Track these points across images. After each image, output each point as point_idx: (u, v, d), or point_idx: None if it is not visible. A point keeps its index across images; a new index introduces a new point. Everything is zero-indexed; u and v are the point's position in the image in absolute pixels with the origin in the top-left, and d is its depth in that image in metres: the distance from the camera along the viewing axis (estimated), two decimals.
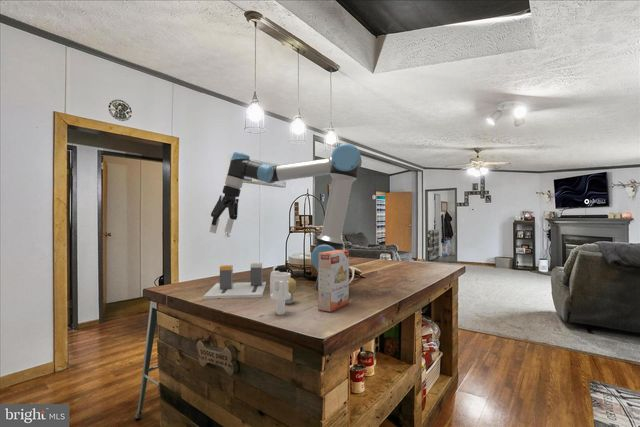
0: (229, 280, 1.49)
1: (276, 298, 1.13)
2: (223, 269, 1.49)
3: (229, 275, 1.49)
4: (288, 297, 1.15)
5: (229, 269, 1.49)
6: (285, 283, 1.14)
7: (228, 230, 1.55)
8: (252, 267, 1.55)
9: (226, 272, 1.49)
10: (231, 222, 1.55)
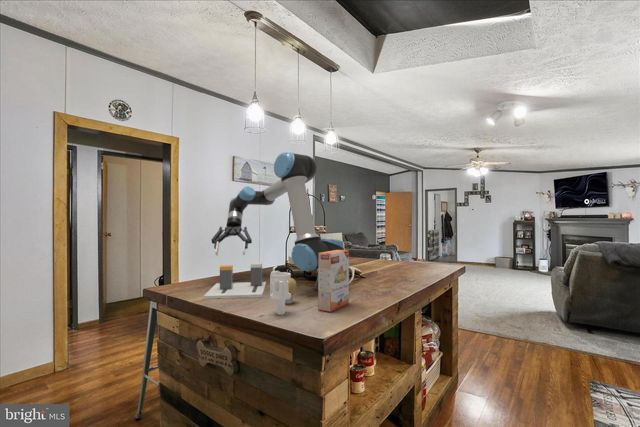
0: (229, 280, 1.49)
1: (276, 298, 1.13)
2: (223, 269, 1.49)
3: (229, 275, 1.49)
4: (288, 297, 1.15)
5: (229, 269, 1.49)
6: (285, 283, 1.14)
7: None
8: (252, 267, 1.55)
9: (226, 272, 1.49)
10: (243, 244, 1.65)
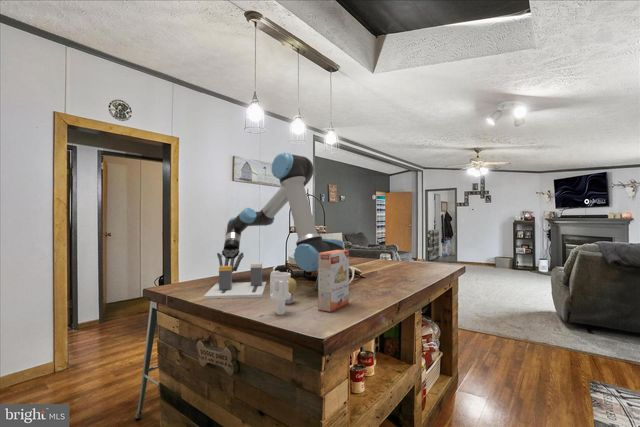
0: (228, 281, 1.47)
1: (276, 298, 1.13)
2: (222, 270, 1.47)
3: (228, 276, 1.47)
4: (288, 297, 1.15)
5: (228, 270, 1.47)
6: (285, 283, 1.14)
7: None
8: (252, 267, 1.55)
9: (225, 273, 1.47)
10: None
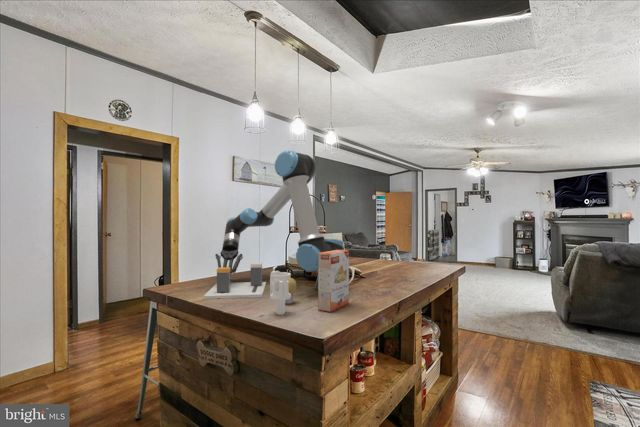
0: (226, 283, 1.43)
1: (276, 298, 1.13)
2: (220, 271, 1.42)
3: (226, 278, 1.43)
4: (288, 297, 1.15)
5: (226, 271, 1.43)
6: (285, 283, 1.14)
7: None
8: (252, 267, 1.55)
9: (223, 275, 1.42)
10: None
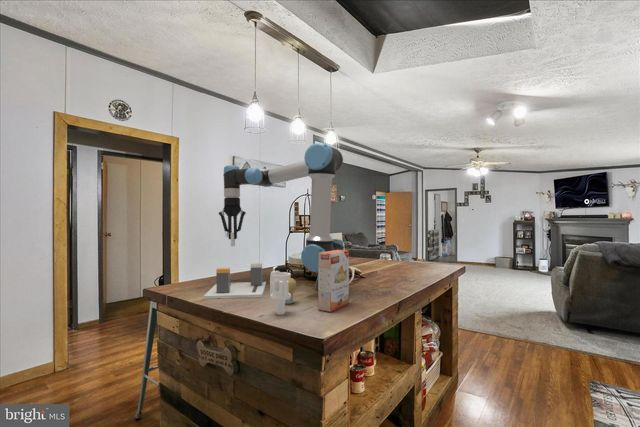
0: (226, 283, 1.42)
1: (276, 298, 1.13)
2: (220, 272, 1.42)
3: (226, 278, 1.42)
4: (288, 297, 1.15)
5: (226, 272, 1.42)
6: (285, 283, 1.14)
7: None
8: (252, 267, 1.55)
9: (223, 275, 1.42)
10: None
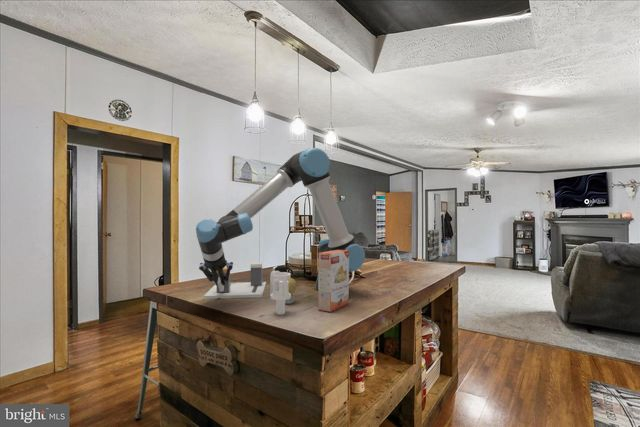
0: (226, 283, 1.42)
1: (276, 298, 1.13)
2: None
3: None
4: (288, 297, 1.15)
5: None
6: (285, 283, 1.14)
7: None
8: (252, 267, 1.55)
9: None
10: None
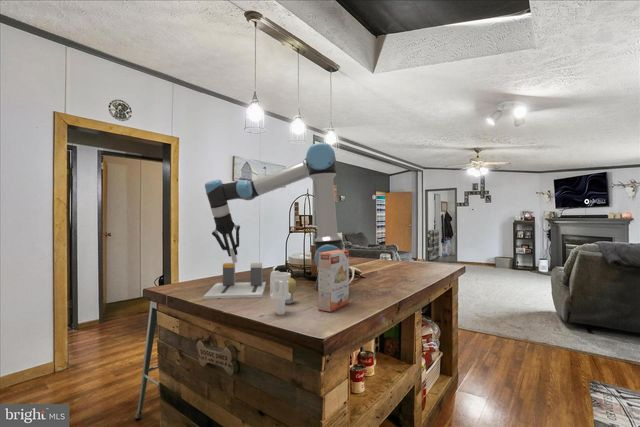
0: (232, 277, 1.56)
1: (276, 298, 1.13)
2: (226, 267, 1.56)
3: (232, 272, 1.56)
4: (288, 297, 1.15)
5: (232, 267, 1.56)
6: (285, 283, 1.14)
7: (234, 260, 1.55)
8: (252, 267, 1.55)
9: (229, 269, 1.56)
10: (232, 252, 1.54)
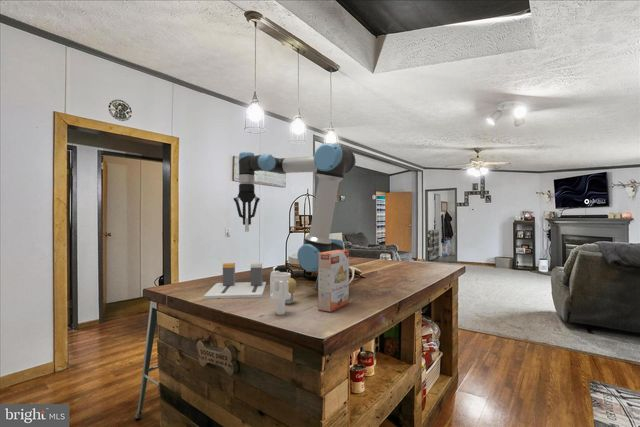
0: (232, 277, 1.56)
1: (276, 298, 1.13)
2: (226, 267, 1.56)
3: (232, 272, 1.56)
4: (288, 297, 1.15)
5: (232, 267, 1.56)
6: (285, 283, 1.14)
7: None
8: (252, 267, 1.55)
9: (229, 269, 1.56)
10: None
